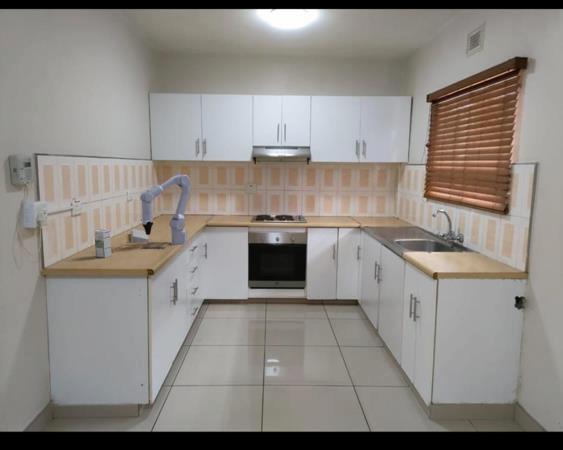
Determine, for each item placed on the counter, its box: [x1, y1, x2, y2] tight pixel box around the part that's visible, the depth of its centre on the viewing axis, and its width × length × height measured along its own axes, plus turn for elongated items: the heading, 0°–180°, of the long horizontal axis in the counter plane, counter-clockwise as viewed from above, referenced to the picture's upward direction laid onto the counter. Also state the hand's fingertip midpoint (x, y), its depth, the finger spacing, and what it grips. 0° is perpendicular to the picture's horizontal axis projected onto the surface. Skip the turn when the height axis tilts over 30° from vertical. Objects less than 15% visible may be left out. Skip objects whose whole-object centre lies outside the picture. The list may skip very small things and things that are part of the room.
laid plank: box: [153, 241, 171, 250], centre depth 241 cm, size 6×14×1 cm, turn 2°
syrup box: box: [93, 229, 112, 259], centre depth 213 cm, size 6×6×14 cm
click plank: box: [141, 241, 160, 250], centre depth 241 cm, size 7×14×1 cm, turn 2°
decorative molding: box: [130, 228, 150, 244], centre depth 270 cm, size 34×5×10 cm
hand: (148, 234), depth 239 cm, fingers closed
